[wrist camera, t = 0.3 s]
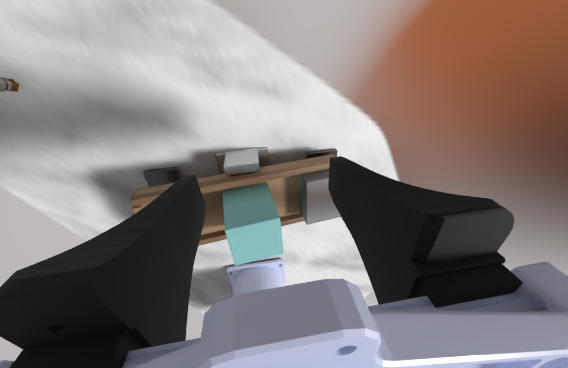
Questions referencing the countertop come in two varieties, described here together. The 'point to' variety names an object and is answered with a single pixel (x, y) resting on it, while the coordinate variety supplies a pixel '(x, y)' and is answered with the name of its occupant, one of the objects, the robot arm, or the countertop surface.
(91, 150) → the countertop surface
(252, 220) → the block
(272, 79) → the countertop surface
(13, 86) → the wooden post with brackets
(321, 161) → the beam
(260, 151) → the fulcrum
